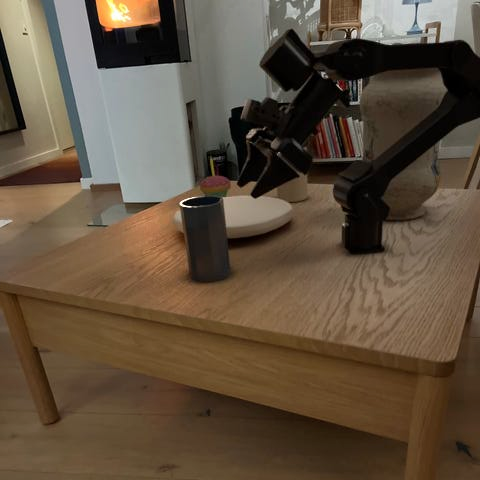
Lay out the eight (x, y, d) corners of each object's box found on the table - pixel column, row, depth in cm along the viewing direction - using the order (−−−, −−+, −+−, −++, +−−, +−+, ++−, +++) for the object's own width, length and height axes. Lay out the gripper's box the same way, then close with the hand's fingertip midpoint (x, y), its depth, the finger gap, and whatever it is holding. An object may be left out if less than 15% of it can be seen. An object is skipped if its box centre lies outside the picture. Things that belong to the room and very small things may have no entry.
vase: (424, 200, 115) (437, 59, 101) (451, 220, 99) (472, 57, 85) (349, 205, 116) (352, 67, 102) (364, 227, 100) (370, 67, 86)
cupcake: (198, 201, 133) (193, 156, 128) (227, 196, 135) (223, 152, 130) (206, 208, 126) (200, 161, 120) (236, 203, 128) (232, 156, 122)
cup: (229, 264, 88) (222, 194, 82) (231, 279, 81) (224, 204, 75) (190, 268, 87) (180, 198, 81) (189, 284, 81) (178, 209, 75)
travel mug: (294, 193, 131) (292, 124, 123) (313, 198, 125) (312, 125, 117) (271, 199, 128) (267, 128, 119) (290, 204, 122) (287, 129, 113)
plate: (193, 193, 120) (298, 190, 115) (195, 219, 123) (298, 217, 117) (152, 212, 95) (284, 209, 89) (156, 244, 98) (285, 243, 92)
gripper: (253, 77, 81) (198, 153, 84) (290, 75, 65) (219, 169, 68) (298, 121, 86) (244, 191, 89) (342, 130, 70) (275, 215, 73)
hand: (245, 191), depth 80 cm, fingers open, 9 cm apart
